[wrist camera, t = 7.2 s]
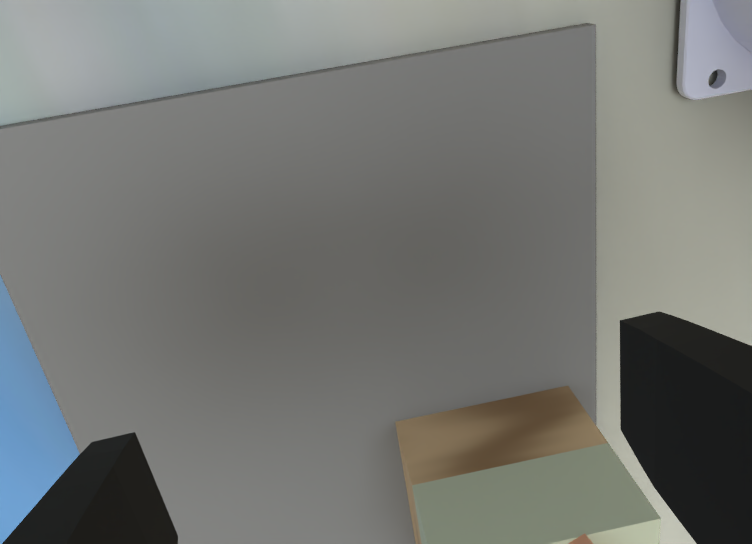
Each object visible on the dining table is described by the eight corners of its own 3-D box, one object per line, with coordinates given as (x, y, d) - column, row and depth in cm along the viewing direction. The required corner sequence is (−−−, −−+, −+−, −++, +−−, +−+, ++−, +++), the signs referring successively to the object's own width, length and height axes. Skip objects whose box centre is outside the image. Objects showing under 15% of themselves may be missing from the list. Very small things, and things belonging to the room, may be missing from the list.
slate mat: (587, 23, 18) (595, 24, 17) (590, 526, 26) (596, 536, 26) (-51, 135, 17) (-60, 139, 16) (162, 623, 25) (160, 635, 25)
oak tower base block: (568, 385, 22) (607, 443, 20) (570, 514, 25) (606, 580, 22) (395, 421, 22) (411, 485, 19) (416, 548, 25) (434, 620, 22)
